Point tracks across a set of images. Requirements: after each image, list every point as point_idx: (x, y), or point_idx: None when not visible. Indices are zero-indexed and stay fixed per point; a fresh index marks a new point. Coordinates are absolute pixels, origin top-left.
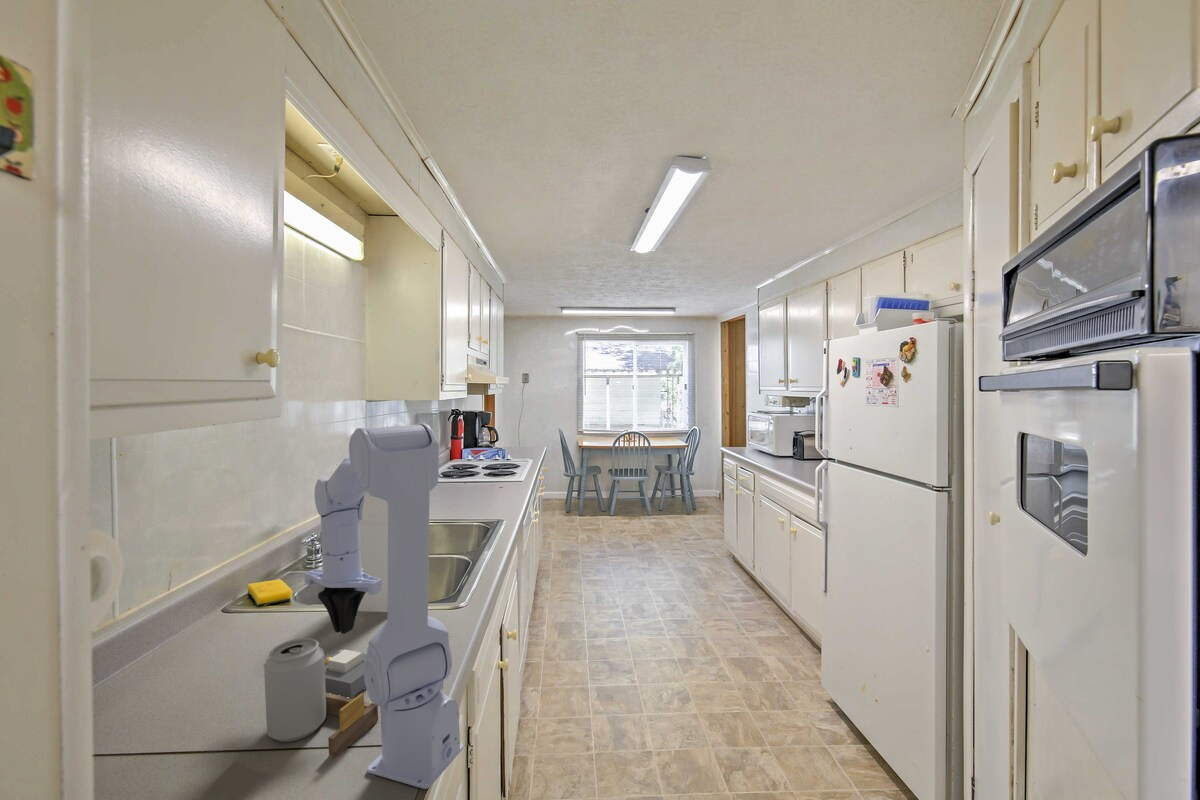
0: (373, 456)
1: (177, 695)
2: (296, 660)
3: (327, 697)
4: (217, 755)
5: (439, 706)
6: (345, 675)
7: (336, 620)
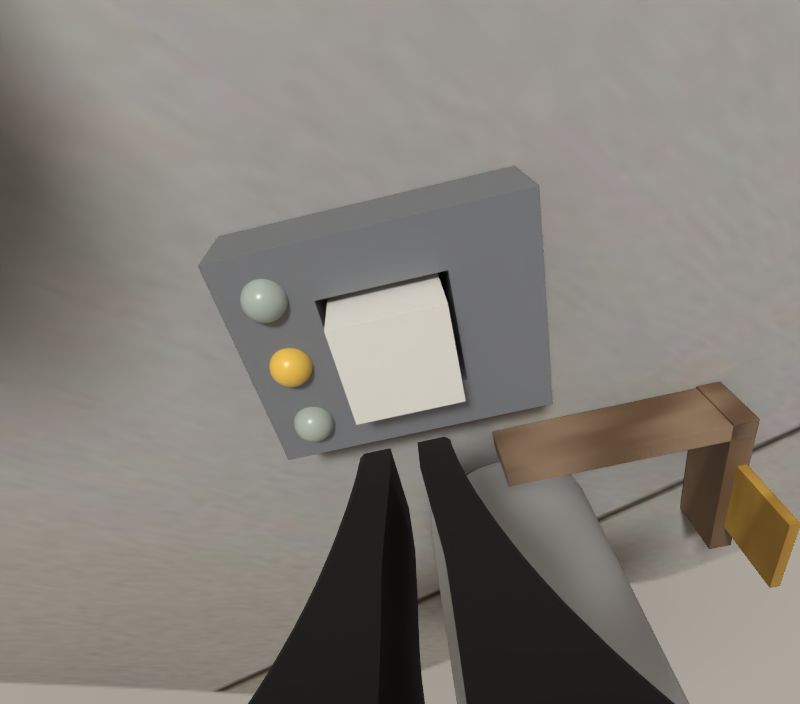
0: None
1: (22, 602)
2: None
3: (542, 478)
4: (424, 609)
5: None
6: (478, 385)
7: (416, 598)
